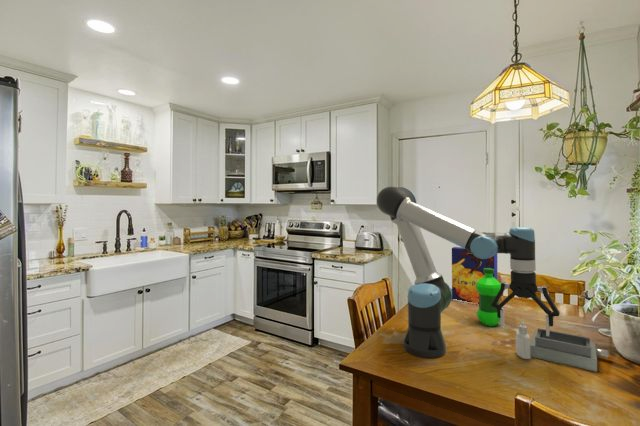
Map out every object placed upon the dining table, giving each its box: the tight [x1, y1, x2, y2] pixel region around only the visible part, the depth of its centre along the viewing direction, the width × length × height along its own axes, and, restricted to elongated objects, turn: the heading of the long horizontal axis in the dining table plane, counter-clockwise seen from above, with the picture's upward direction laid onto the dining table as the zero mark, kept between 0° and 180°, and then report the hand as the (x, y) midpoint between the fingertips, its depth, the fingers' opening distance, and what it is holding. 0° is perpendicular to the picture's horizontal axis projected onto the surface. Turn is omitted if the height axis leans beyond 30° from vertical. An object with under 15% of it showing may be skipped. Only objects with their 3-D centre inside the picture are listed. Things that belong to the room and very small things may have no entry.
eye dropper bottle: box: [515, 322, 531, 360], centre depth 114 cm, size 4×6×12 cm
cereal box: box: [451, 246, 498, 304], centre depth 177 cm, size 22×6×30 cm, turn 47°
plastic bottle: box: [476, 268, 502, 327], centre depth 145 cm, size 10×10×25 cm
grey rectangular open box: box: [530, 328, 610, 373], centre depth 113 cm, size 16×22×7 cm
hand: (524, 330), depth 114 cm, fingers open, 13 cm apart
